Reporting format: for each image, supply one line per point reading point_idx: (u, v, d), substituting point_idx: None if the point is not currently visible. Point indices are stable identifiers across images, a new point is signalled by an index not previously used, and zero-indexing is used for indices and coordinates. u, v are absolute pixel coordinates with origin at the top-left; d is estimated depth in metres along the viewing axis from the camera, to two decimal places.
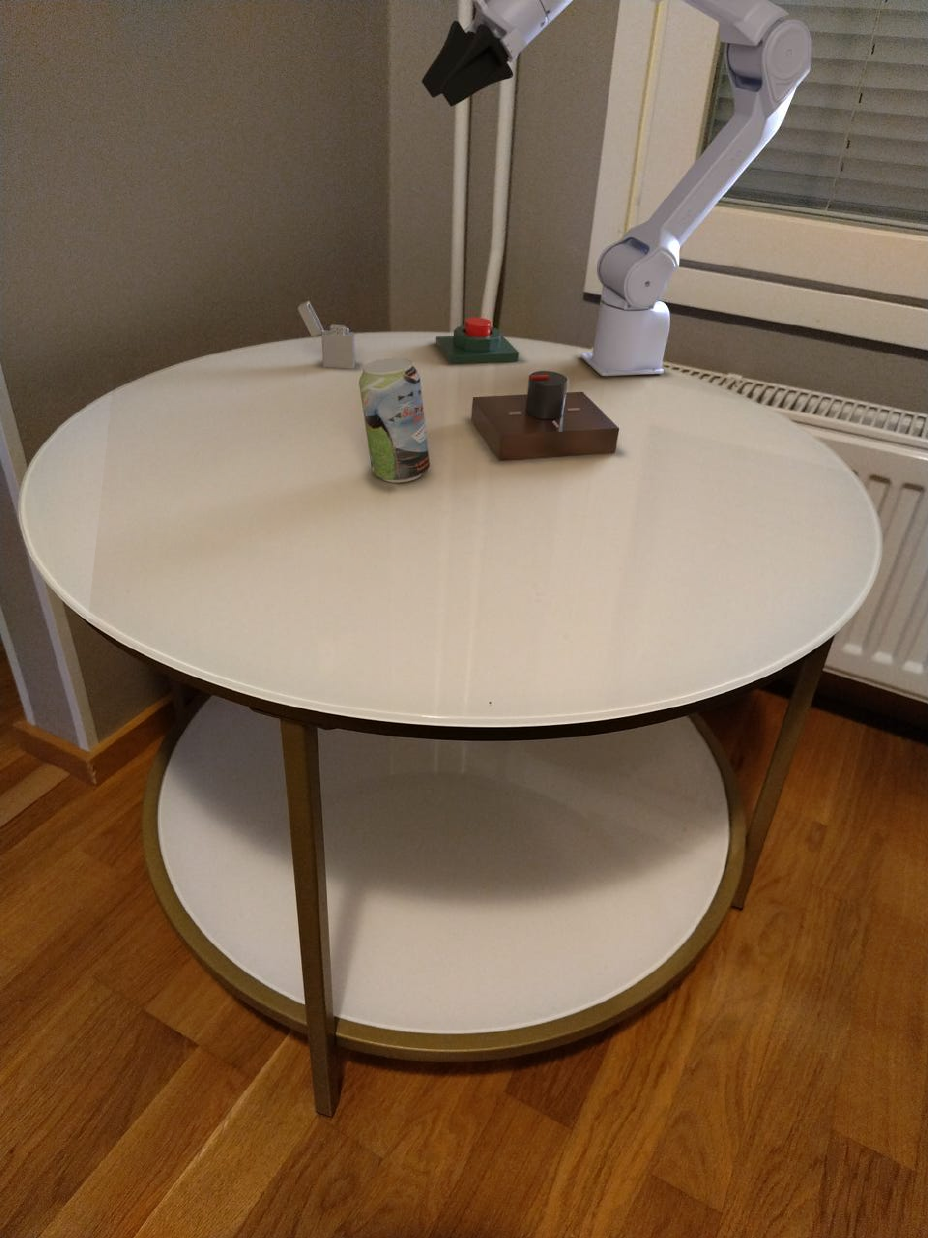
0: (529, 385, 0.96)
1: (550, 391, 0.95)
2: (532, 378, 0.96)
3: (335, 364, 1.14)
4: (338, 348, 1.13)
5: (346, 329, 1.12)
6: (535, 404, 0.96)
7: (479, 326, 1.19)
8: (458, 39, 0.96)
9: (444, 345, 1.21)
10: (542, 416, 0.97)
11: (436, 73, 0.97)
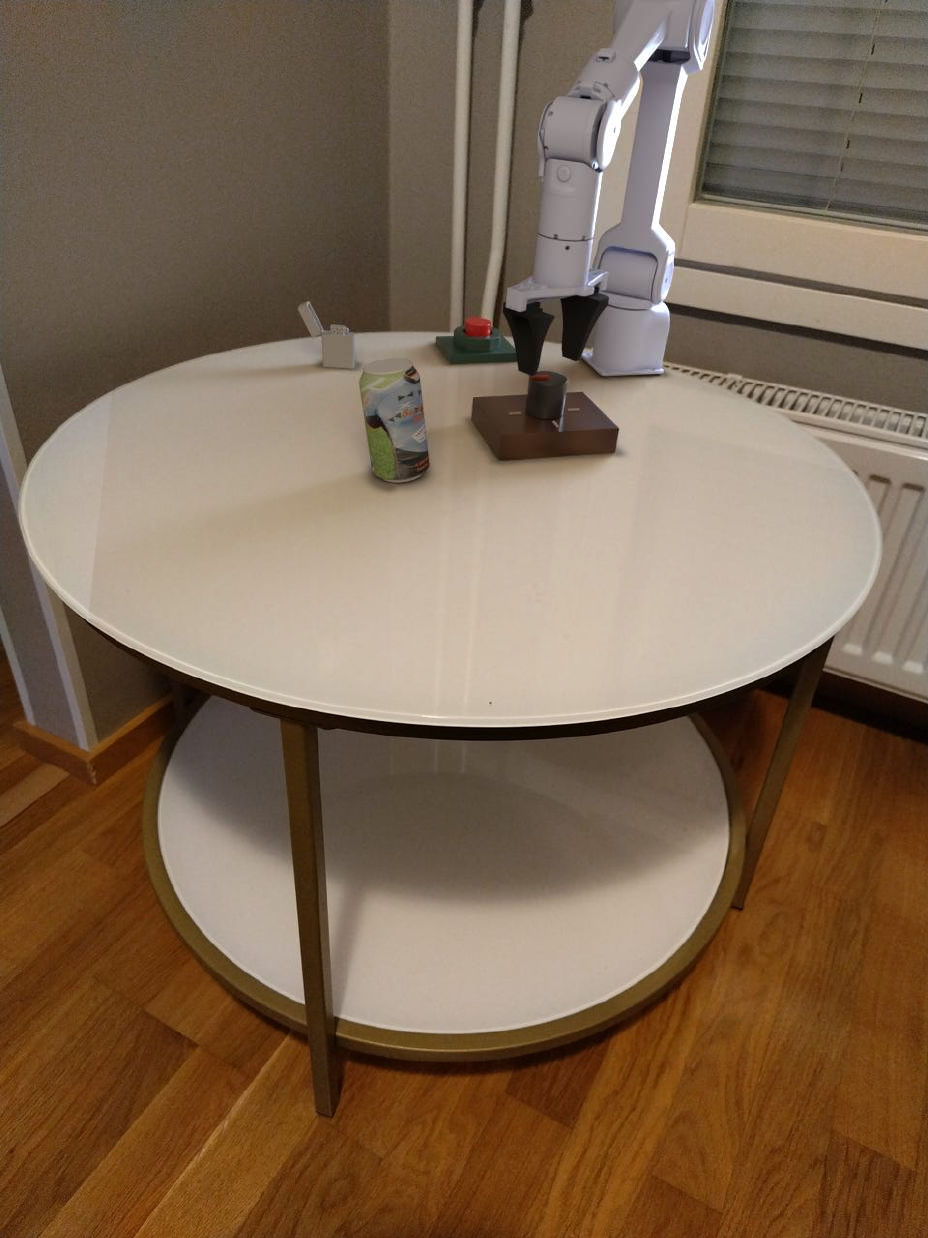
0: (529, 385, 0.96)
1: (550, 391, 0.95)
2: (532, 378, 0.96)
3: (335, 364, 1.14)
4: (338, 348, 1.13)
5: (346, 329, 1.12)
6: (535, 404, 0.96)
7: (479, 326, 1.19)
8: None
9: (444, 345, 1.21)
10: (542, 416, 0.97)
11: None
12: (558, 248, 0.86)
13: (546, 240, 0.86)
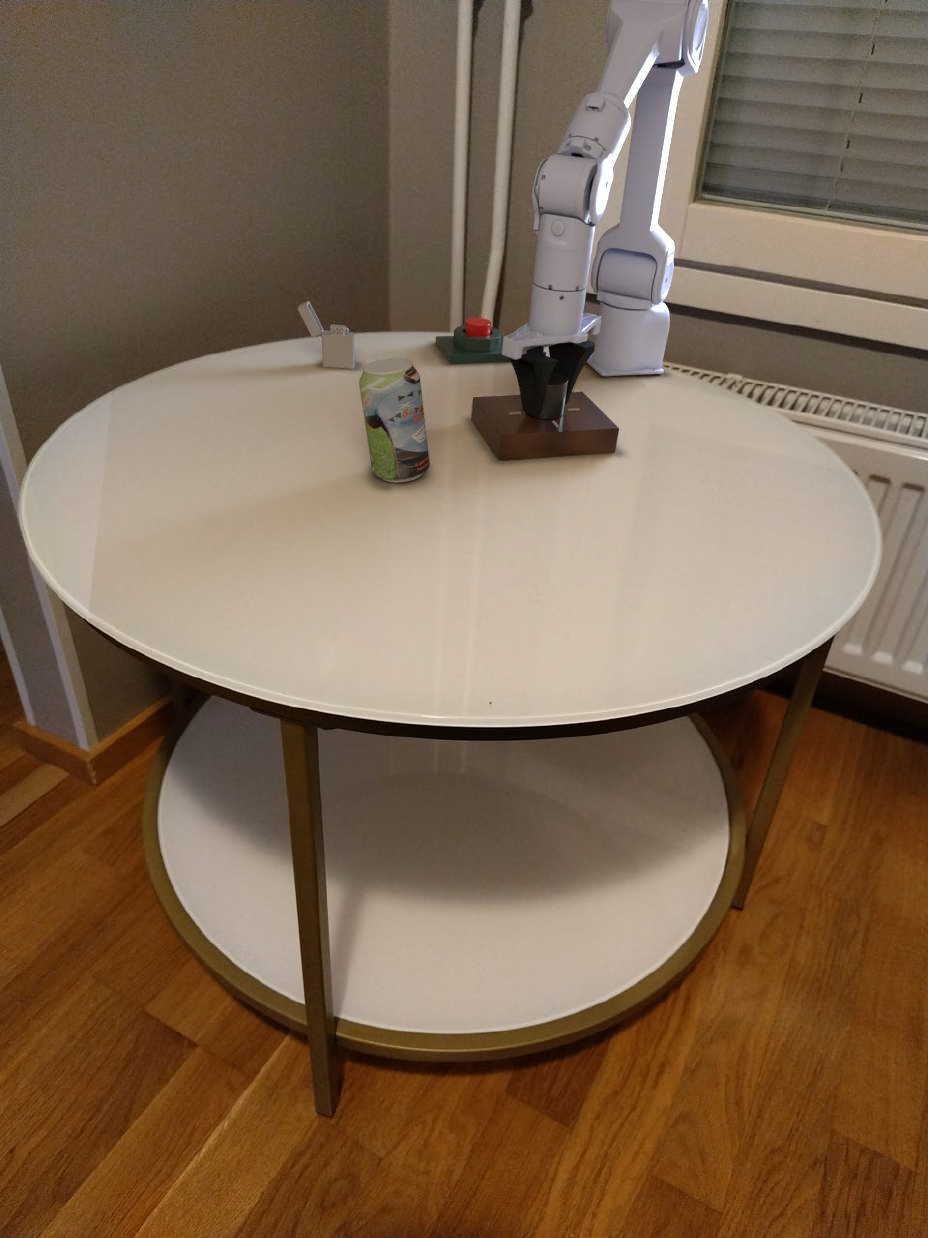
0: None
1: (550, 391, 0.95)
2: None
3: (335, 364, 1.14)
4: (338, 348, 1.13)
5: (346, 329, 1.12)
6: None
7: (479, 326, 1.19)
8: None
9: (444, 345, 1.21)
10: (542, 416, 0.97)
11: None
12: (552, 298, 0.89)
13: (541, 290, 0.89)
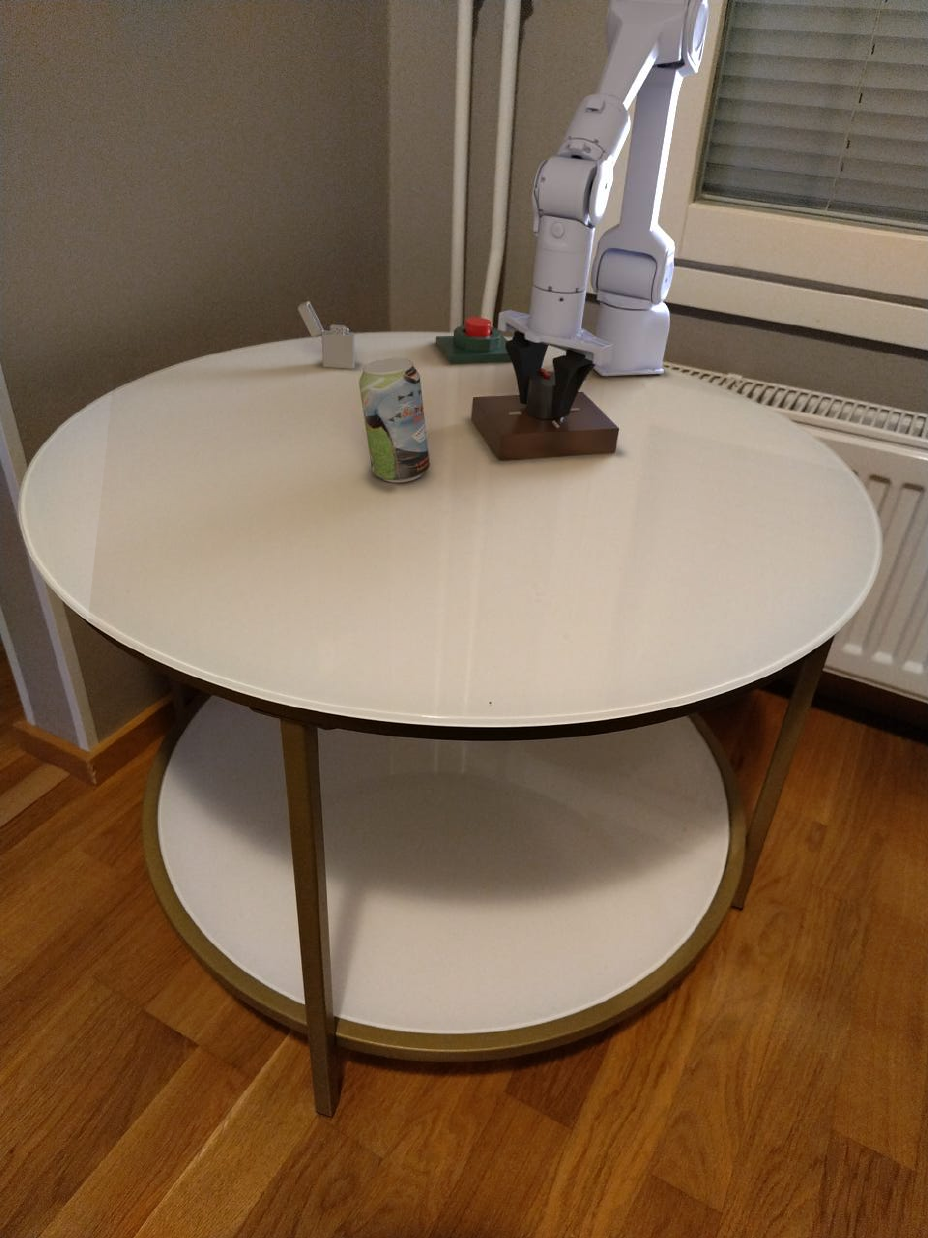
0: None
1: (528, 383, 0.97)
2: (540, 370, 0.98)
3: (335, 364, 1.14)
4: (338, 348, 1.13)
5: (346, 329, 1.12)
6: None
7: (479, 326, 1.19)
8: (525, 355, 0.96)
9: (444, 345, 1.21)
10: None
11: (527, 389, 0.98)
12: None
13: None
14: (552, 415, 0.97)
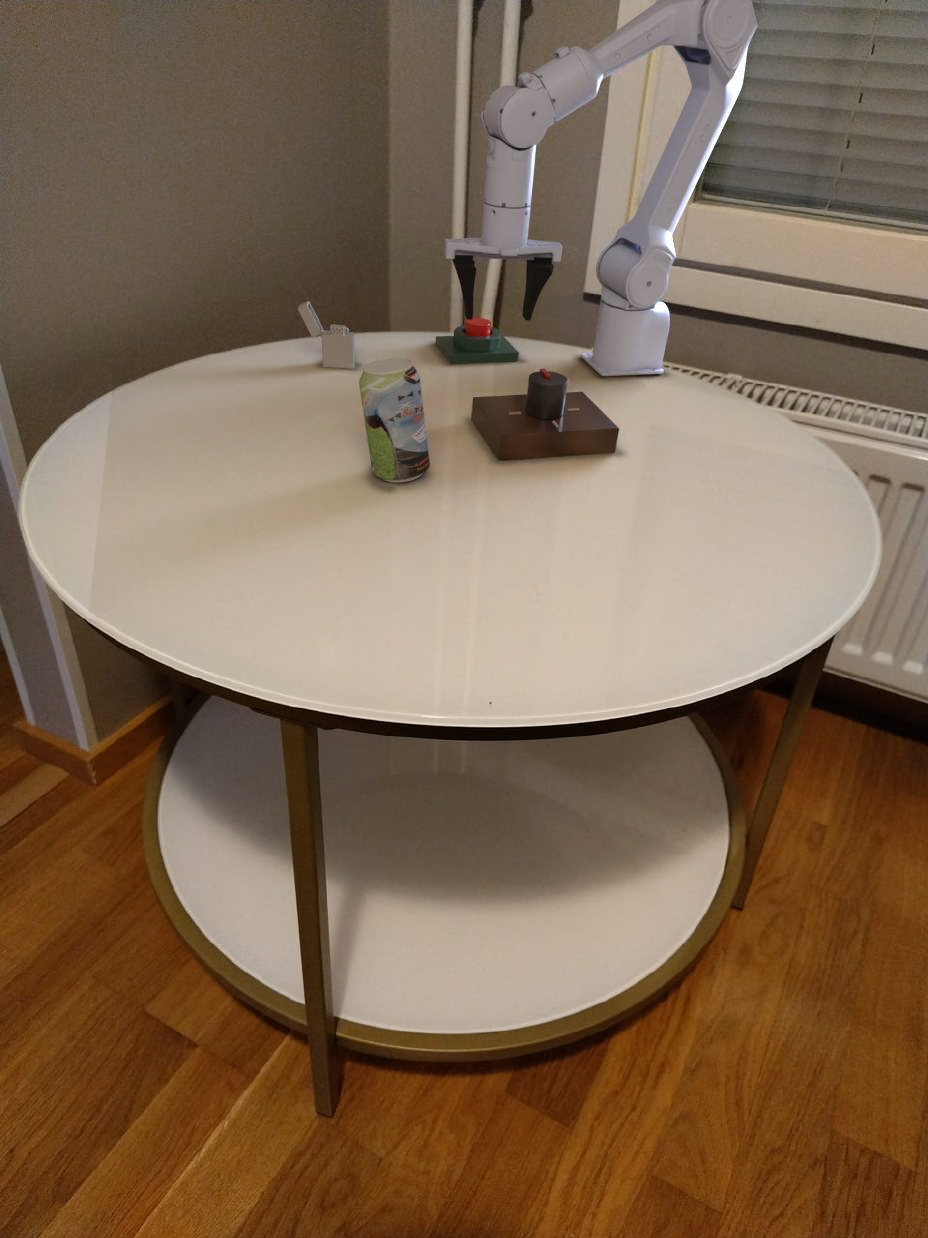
0: None
1: (528, 383, 0.97)
2: (540, 370, 0.98)
3: (335, 364, 1.14)
4: (338, 348, 1.13)
5: (346, 329, 1.12)
6: None
7: (479, 326, 1.19)
8: None
9: (444, 345, 1.21)
10: None
11: None
12: (487, 211, 1.03)
13: (483, 204, 1.03)
14: (552, 415, 0.97)
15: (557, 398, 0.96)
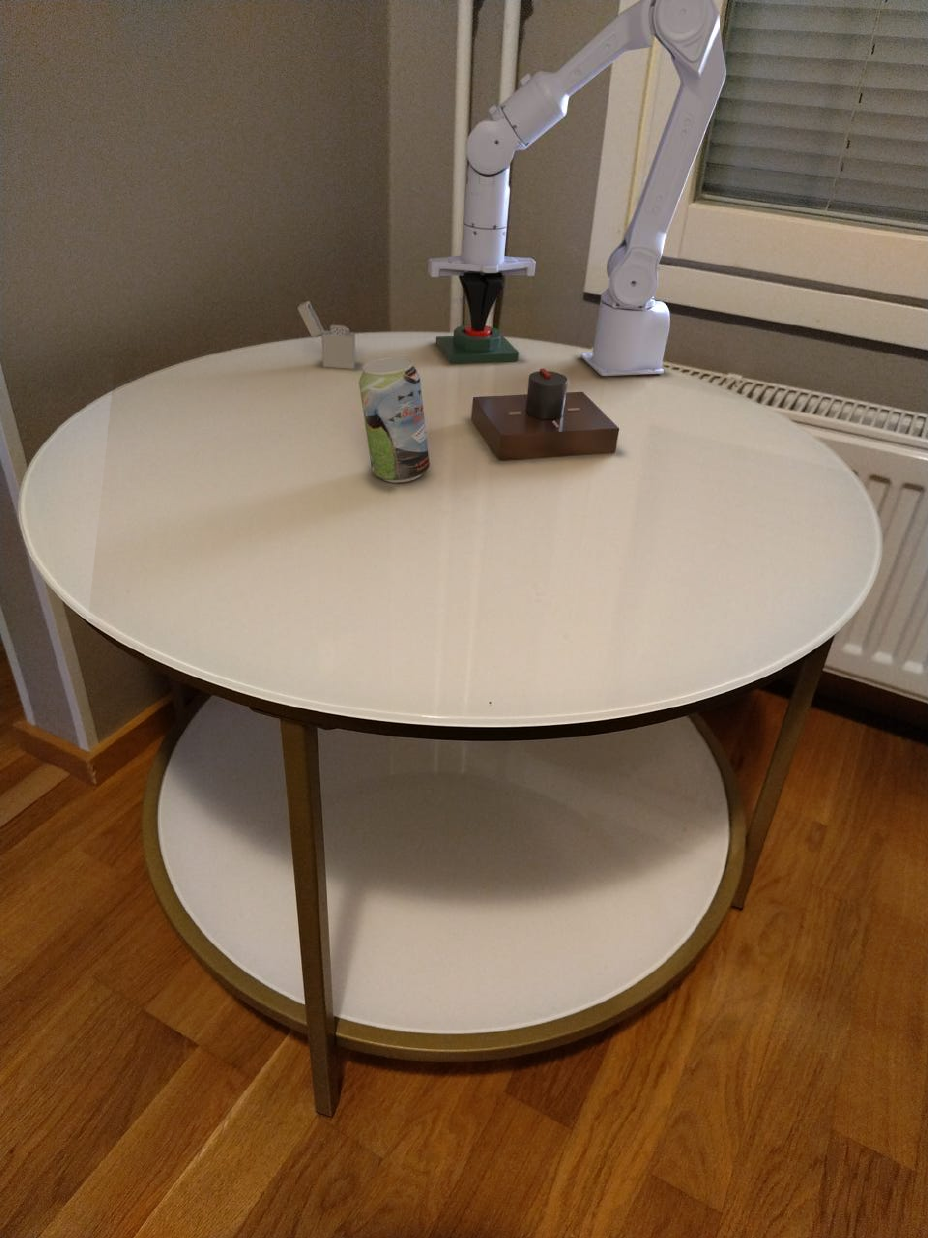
0: None
1: (528, 383, 0.97)
2: (540, 370, 0.98)
3: (335, 364, 1.14)
4: (338, 348, 1.13)
5: (346, 329, 1.12)
6: None
7: (478, 333, 1.19)
8: None
9: (444, 345, 1.21)
10: None
11: None
12: (468, 232, 1.11)
13: (464, 226, 1.12)
14: (552, 415, 0.97)
15: (557, 398, 0.96)
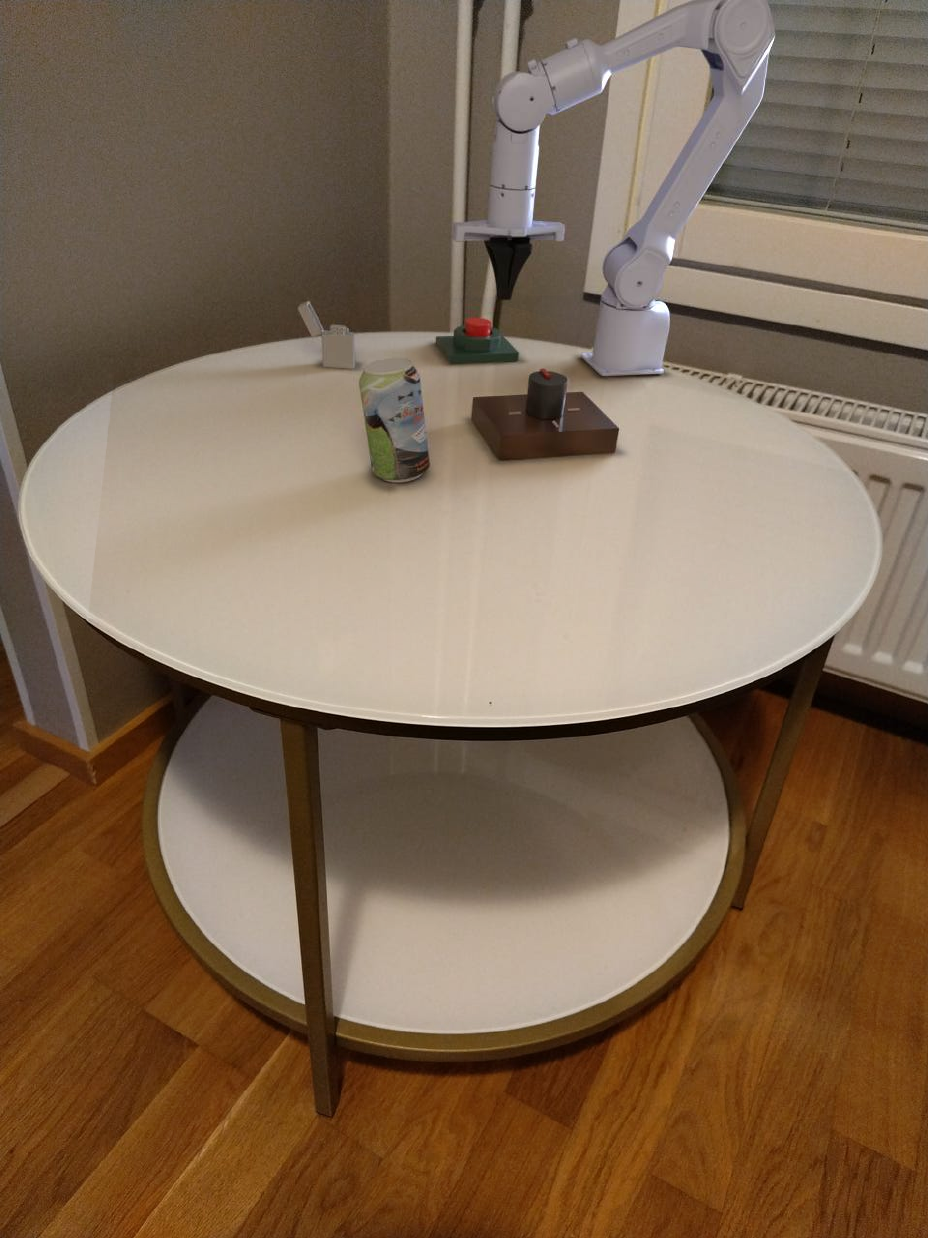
0: None
1: (528, 383, 0.97)
2: (540, 370, 0.98)
3: (335, 364, 1.14)
4: (338, 348, 1.13)
5: (346, 329, 1.12)
6: None
7: (479, 326, 1.19)
8: None
9: (444, 345, 1.21)
10: None
11: None
12: (495, 194, 1.06)
13: (490, 187, 1.07)
14: (552, 415, 0.97)
15: (557, 398, 0.96)
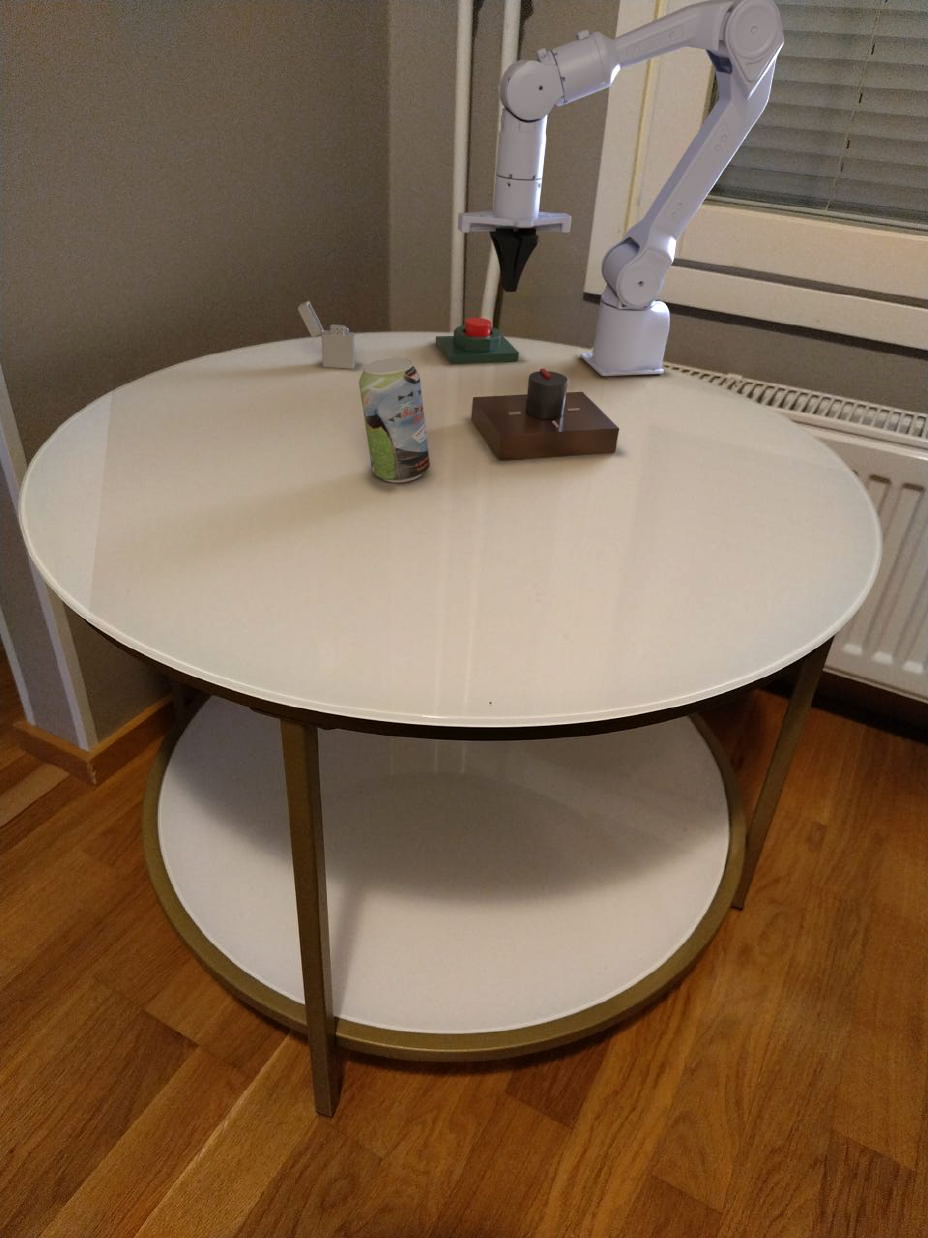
0: None
1: (528, 383, 0.97)
2: (540, 370, 0.98)
3: (335, 364, 1.14)
4: (338, 348, 1.13)
5: (346, 329, 1.12)
6: None
7: (479, 326, 1.19)
8: None
9: (444, 345, 1.21)
10: None
11: None
12: (502, 184, 1.05)
13: (496, 177, 1.06)
14: (552, 415, 0.97)
15: (557, 398, 0.96)
